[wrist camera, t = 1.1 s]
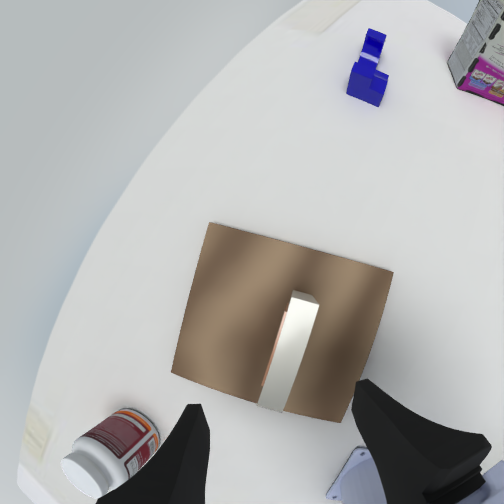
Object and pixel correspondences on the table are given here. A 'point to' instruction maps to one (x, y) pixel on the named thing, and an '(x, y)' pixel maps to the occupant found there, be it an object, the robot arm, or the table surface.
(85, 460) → the pill bottle
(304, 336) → the tile
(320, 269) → the board
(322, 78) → the table surface
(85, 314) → the table surface
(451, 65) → the candy bar box
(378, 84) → the cable holder
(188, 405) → the robot arm
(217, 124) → the table surface
